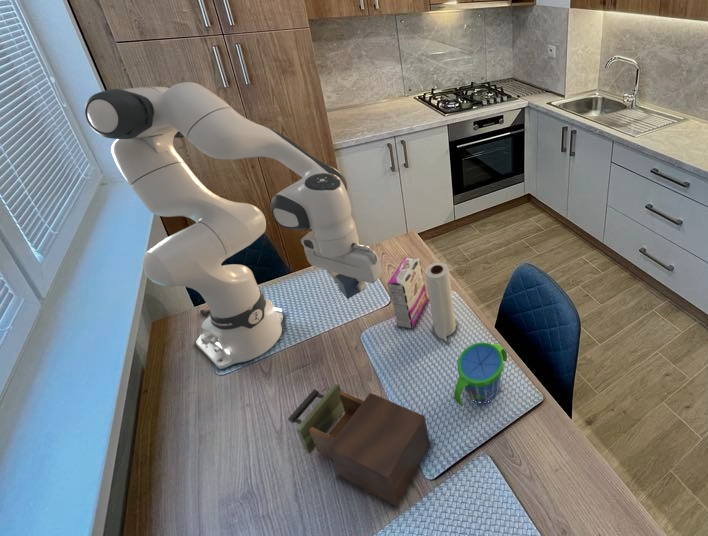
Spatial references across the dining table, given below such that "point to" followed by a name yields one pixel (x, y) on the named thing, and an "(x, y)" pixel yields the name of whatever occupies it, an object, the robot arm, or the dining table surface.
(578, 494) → the dining table surface
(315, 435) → the drawer
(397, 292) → the candy bar box
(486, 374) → the snack cup
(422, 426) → the cabinet
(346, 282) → the block
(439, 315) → the paper towel roll
